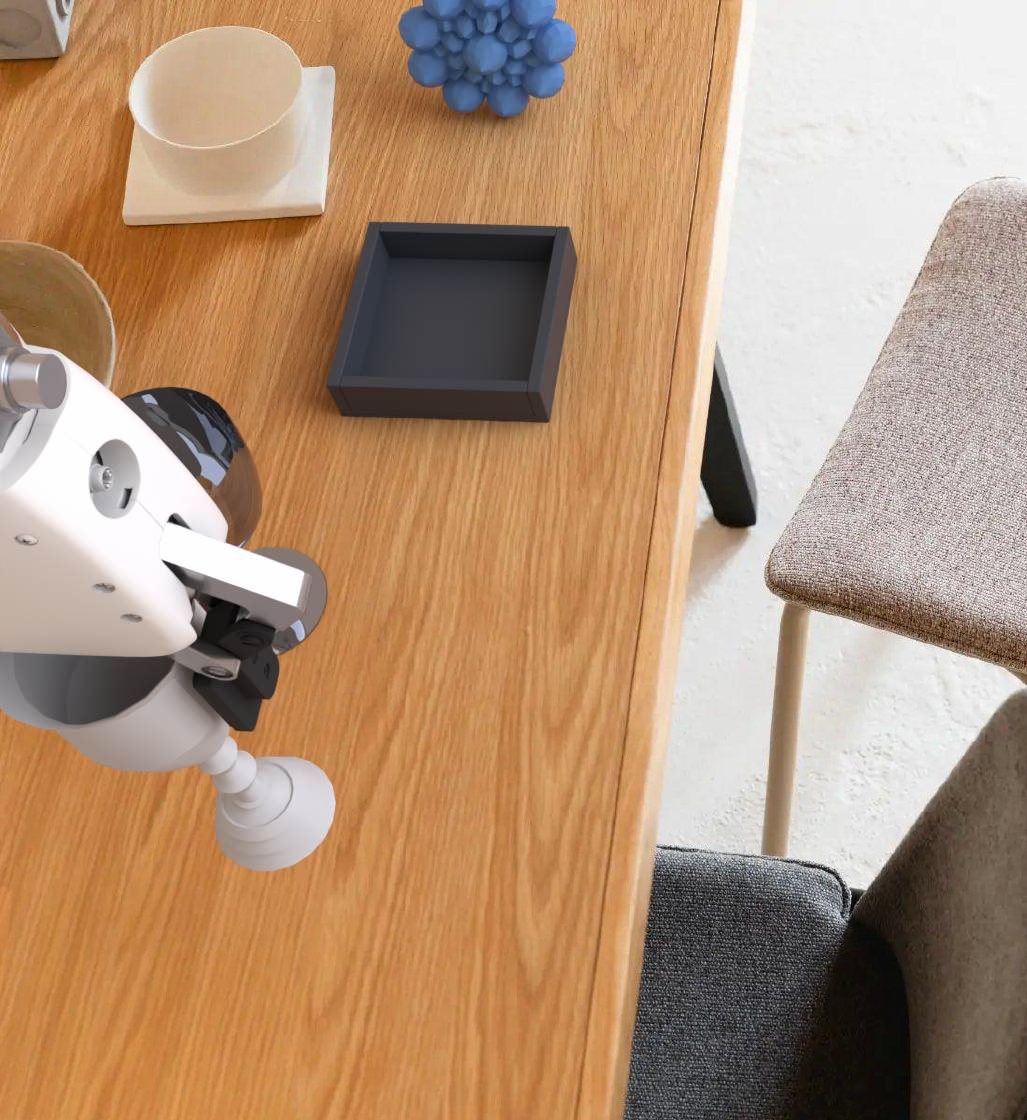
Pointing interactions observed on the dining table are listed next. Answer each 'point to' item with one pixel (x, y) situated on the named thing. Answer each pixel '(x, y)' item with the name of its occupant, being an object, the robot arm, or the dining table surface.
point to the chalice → (173, 744)
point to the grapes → (488, 51)
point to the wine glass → (225, 482)
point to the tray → (455, 322)
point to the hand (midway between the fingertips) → (148, 685)
